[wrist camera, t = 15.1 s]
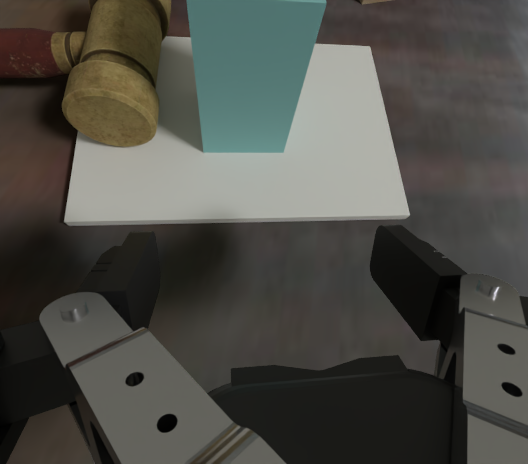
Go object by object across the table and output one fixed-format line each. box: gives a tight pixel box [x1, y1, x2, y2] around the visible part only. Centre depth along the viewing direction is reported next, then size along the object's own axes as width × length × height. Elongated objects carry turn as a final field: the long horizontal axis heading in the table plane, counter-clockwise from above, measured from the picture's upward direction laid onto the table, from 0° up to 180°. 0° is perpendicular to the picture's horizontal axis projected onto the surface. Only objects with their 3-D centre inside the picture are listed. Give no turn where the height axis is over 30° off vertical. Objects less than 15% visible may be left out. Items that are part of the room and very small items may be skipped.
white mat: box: [64, 36, 410, 226], centre depth 22 cm, size 20×14×1 cm
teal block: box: [187, 0, 326, 153], centre depth 17 cm, size 5×5×10 cm
